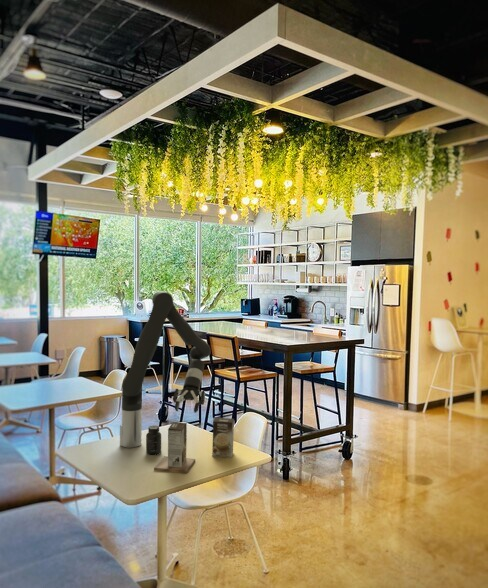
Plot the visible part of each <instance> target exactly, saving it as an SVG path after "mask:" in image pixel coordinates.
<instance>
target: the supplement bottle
mask: <svg viewBox="0 0 488 588" xmlns="http://www.w3.org/2000/svg"><path fill="white" fill-rule="evenodd" d="M147 429H148V430H147V431H148V432H147V433H146V435H145V436H146V437H145V453H146V455H148V456H158V455H160V454H161V453H162V433H161V432H160V426H159V425H150V426H148V428H147Z"/></svg>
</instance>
